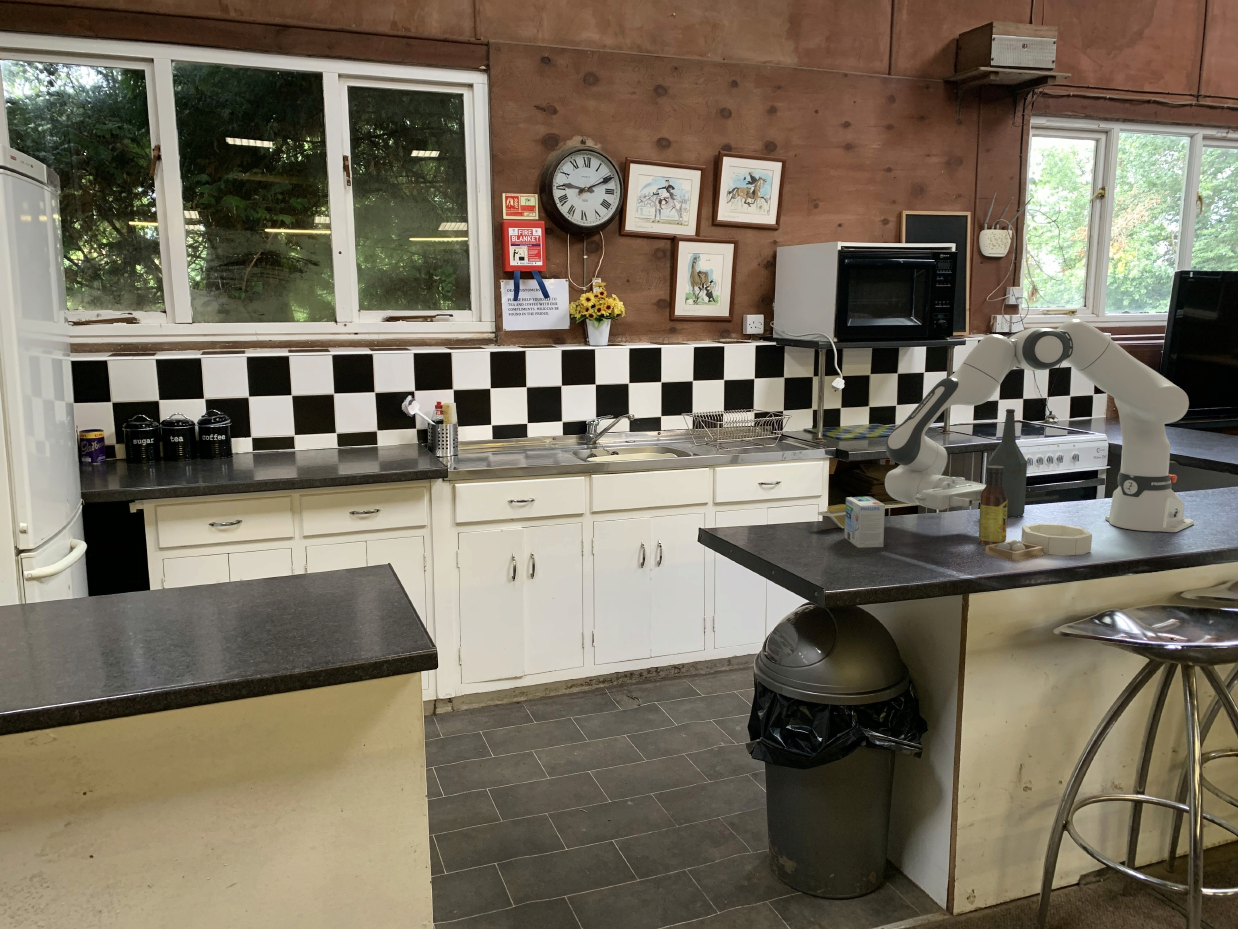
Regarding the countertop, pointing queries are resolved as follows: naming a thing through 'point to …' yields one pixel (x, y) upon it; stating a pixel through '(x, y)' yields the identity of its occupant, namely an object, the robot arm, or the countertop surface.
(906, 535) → the countertop surface
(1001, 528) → the sauce bottle
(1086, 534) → the bowl
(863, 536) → the light bulb box
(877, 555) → the countertop surface
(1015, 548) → the pebble
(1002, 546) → the pebble
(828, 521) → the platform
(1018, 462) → the bottle
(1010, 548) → the pebble
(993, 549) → the pebble tray
